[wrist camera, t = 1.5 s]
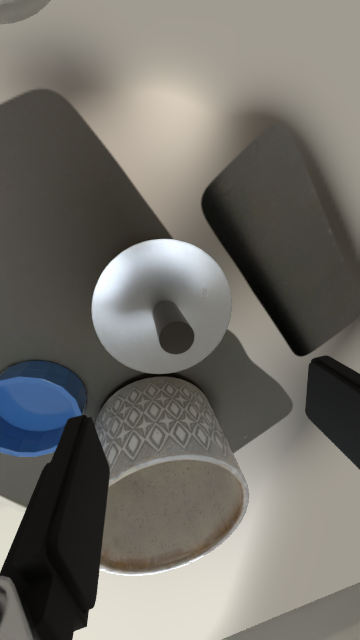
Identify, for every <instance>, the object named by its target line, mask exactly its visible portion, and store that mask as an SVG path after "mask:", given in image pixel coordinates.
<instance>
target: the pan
mask: <svg viewBox="0 0 360 640" xmlns="http://www.w3.org/2000/svg"><path fill="white" fill-rule="evenodd" d="M86 403H87V393H86V390H85V387H84V385H83V383H82V381H81V380H80V379H79V378H78V376H77V375H75V374H74V373H73V372H72V371H70V370H69V369H67V368H65V367H64V366H61V365H59V364H56V363H52V362H48V361H38V360H36V361H25V362H21V363H17V364H15V365H12V366H10V367H8V368H6V369H5V370H3V371H2V372H1V373H0V452H1V453H5V454H8V455H12V456H16V457H37V456H41V455H44V454H48V453H52V452H55V450H56V448H57V445H58V443H59V440H60V438H61V435H62V432H63V430H64V427H65V425H66V422H67V420H68V419H69V418H72V417H76V416H80V415H84V413H85V407H86Z"/></svg>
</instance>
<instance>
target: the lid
mask: <svg viewBox="0 0 360 640" xmlns="http://www.w3.org/2000/svg"><path fill="white" fill-rule="evenodd" d="M231 309H232V299H231V291H230V288H229V284H228V281H227V279H226V276H225V274H224V273H223V271H222V269H221V268H220V266H219V265H218V264H217V263H216V261H215V260H214V259H213V258H211V256H210V255H208V254H207V253H206V252H204V251H203V250H202V249H200V248H198V247H196V246H194V245H192V244H190V243H187V242H184V241H180V240H175V239H152V240H148V241H143V242H140V243H138V244H135V245H133V246H131V247H129V248H127V249H125V250H124V251H122V252H121V253H120V254H118V255H117V256H116V257H115V258H114V259H113V260H112V261H111V262H110V263H109V264H108V265H107V266H106V268H105V269H104V270H103V272H102V273H101V275H100V277H99V279H98V281H97V283H96V286H95V289H94V292H93V297H92V306H91V312H92V320H93V325H94V328H95V331H96V334H97V336H98V338H99V340H100V342H101V343H102V345H103V346H104V347H105V349H106V350H107V351H108V352H109V353H110V354H111V355H112V356H113V357H114V358H115V359H116V360H118V361H119V362H120V363H122V364H124V365H125V366H127V367H129V368H132V369H134V370H137V371H140V372H144V373H150V374H169V373H174V372H178V371H182V370H185V369H187V368H190V367H192V366H194V365H195V364H197V363H199V362H200V361H202V360H203V359H205V358H206V357H207V356H208V355H209V354H210V353H211V352H212V351H213V350H214V349H215V348H216V347H217V345H218V344H219V343H220V341H221V340H222V338H223V336H224V334H225V332H226V330H227V327H228V324H229V321H230V317H231Z"/></svg>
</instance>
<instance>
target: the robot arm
mask: <svg viewBox="0 0 360 640" xmlns="http://www.w3.org/2000/svg"><path fill="white" fill-rule="evenodd" d="M305 412H306V415H307V416H308V418H309V419H310V420H311V421H312V422H313V423H314V424H315V425H316V426H317V427H318V428H319V429H320V430H321V431H322V432H323V433H324V434H325V435H326V436H327V437H328V438H329V439H330V440H331V441H332V442H333V443H334V444H335V445H336V446H337V447H338V448H339V449H340V450H341V451H342V452H343V453H344V454H345V455H346V456H347V457H348V458H349V459H350V460H351V461H352V462H353V463H354V464H355V465H356V466H357V467H358V468H359V469H360V374H359V373H357V372H355V371H354V370H352V369H350V368H348V367H347V366H345V365H343V364H341V363H340V362H338V361H336V360H335V359H333V358H331V357H329V356H321V357H317V358H314V359H312V360H311V363H310V364H309V370H308V383H307V396H306V409H305ZM109 478H110V469H109V464H108V462H107V459H106V456H105V453H104V450H103V448H102V445H101V442H100V439H99V437H98V434H97V431H96V428H95V426H94V423H93V420H92V418H91V417H89V418H87V417H86V415H80V416H76V417H72V418H69V419H68V420H67V422H66V425H65V427H64V430H63V432H62V435H61V438H60V440H59V443H58V445H57V448H56V450H55V453H54V456H53V458H52V461H51V462H50V463H47V464H46V465H45V467H44V469H43V470H42V473H41V475H40V478H39V480H38V482H37V485H36V487H35V490H34V492H33V494H32V497H31V499H30V502H29V504H28V507H27V509H26V511H25V514H24V516H23V519H22V521H21V524H20V526H19V528H18V531H17V533H16V536H15V538H14V541H13V543H12V545H11V548H10V550H9V553H8V555H7V558H6V560H5V562H4V565H3V567H2V570H1V572H0V640H72V638H73V632H74V631H76V630H79V629H81V628H84V627H86V626H87V620H88V612H89V609H92V608H93V607H94V605H95V601H96V595H97V585H98V577H99V568H100V559H101V550H102V541H103V532H104V523H105V514H106V505H107V496H108V487H109ZM222 640H360V583H357V584H355V585H352V586H350V587H348V588H345V589H343V590H340V591H338V592H335V593H333V594H331V595H328V596H326V597H324V598H321V599H318V600H316V601H314V602H311V603H309V604H306V605H304V606H302V607H299V608H297V609H294V610H292V611H289V612H287V613H285V614H282V615H280V616H277V617H275V618H272V619H270V620H268V621H265V622H263V623H260V624H258V625H256V626H253V627H251V628H249V629H246V630H244V631H241V632H239V633H236V634H234V635H232V636H229V637H227V638H224V639H222Z"/></svg>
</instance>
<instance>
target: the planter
mask: <svg viewBox="0 0 360 640" xmlns="http://www.w3.org/2000/svg"><path fill="white" fill-rule="evenodd" d="M95 428H96V431H97V434H98V437H99V439H100V442H101V445H102V448H103V450H104V453H105V456H106V459H107V462H108V464H109V469H110V478H109V487H108V496H107V505H106V514H105V523H104V532H103V541H102V550H101V559H100V568H99V570H102V571H105V572H108V573H113V574H118V575H130V576H133V575H148V574H156V573H160V572H165V571H169V570H172V569H175V568H178V567H181V566H184V565H186V564H189V563H191V562H193V561H195V560H197V559H199V558H201V557H203V556H204V555H206V554H208V553H209V552H211V551H212V550H214V549H215V548H216V547H218V546H219V545H220V544H222V543H223V542H224V541H225V540H226V539H227V538H228V537H229V536H230V535H231V534H232V533H233V532H234V531H235V529H236V528H237V527H238V525H239V524H240V522H241V521H242V519H243V516H244V515H245V513H246V509H247V506H248V502H249V491H248V485H247V483H246V480H245V478H244V476H243V474H242V472H241V470H240V467H239V466H238V463H237V461H236V459H235V457H234V455H233V452H232V450H231V448H230V446H229V444H228V442H227V440H226V438H225V435H224V433H223V431H222V429H221V427H220V425H219V423H218V421H217V418H216V416H215V414H214V412H213V410H212V408H211V406H210V404H209V401H208V399H207V398H206V396H205V395H204V394H203V392H201V391H200V390H199V389H198V388H197V387H196V386H194V385H193V384H191V383H189V382H187V381H184V380H181V379H178V378H173V377H151V378H145V379H142V380H139V381H135V382H133V383H131V384H129V385H127V386H125V387H123V388H122V389H120V390H118V391H117V392H116V393H115V394H113V395H112V396H111V397H110V398H109V399H108V400H107V402H106V403H105V404H104V405H103V407H102V408H101V410H100V412H99V414H98V417H97V419H96V423H95Z"/></svg>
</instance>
